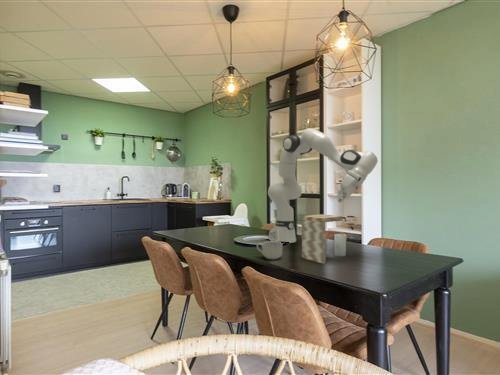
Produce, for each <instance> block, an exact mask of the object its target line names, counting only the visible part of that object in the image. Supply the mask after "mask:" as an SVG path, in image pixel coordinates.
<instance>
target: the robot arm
mask: <svg viewBox="0 0 500 375" xmlns="http://www.w3.org/2000/svg"><path fill="white" fill-rule="evenodd" d="M282 147H283V148H281V152H280V156H279V162H278V175H279V176H280V177H281V178H282V179H283V183H274V184H271V185H269V187H268V190H267V195H268V197H269V198H270V199H271V200H272V201H273V203H274V205H275V208H276V220H275V221H274V224H275V225H274V226H273V227H272V228H271V229H270V230H269V233H268V237H269V238H267V237H266V238H267V239H274V240H277V241H288V242H289V243H288V244H291V243H296V242H297V237H296V229H295V220H294V218H295V217H294V215H295V214H294V208H293V207H292V206H291V205H289V202H288V201H289V200H296V199H298V198H300V197H301V196H302V193H303V190H302V189H303V188H302V186H301V185H299V183H298V181H297V178H296V171H297V170H296V166H297V159H298V158H297V157H298V155H305V154H309V153H311V152H312V151H313V150H314V151H315V152H316V153H319V154H321V155H323V156H324V157H326V158H328V159H329V160H331V161H332V162H334V163H336V165H338V166H340V167H341V168H342V169H343V170H345V172H346V175H345V177H344V178H343V179H342V180H341V182H340V185H339V187H340V189H339V191H338V192H337V194H336V198H338V199H337V202H338V203H340V204H341V203H342V202H343V201H344V200H346V199H347V200H348V199H350V197H351V196H352V194H353V193H354V191H355V190H356V188H357V187H361V186H362V184H363V183H364V182H365V181H366V179H367V177H368V175H369V174H371V173H372V172H373V170H374V169H375V167H376V165H377V164H378V162H379V161H378V157H377V156H376V155H375V153H374V152H372V151H369V150H366V151H356V150H355V149H347V150H345V151H344V152H342V153H341V151H339V150H338V149H337V148H338V147H336V145H335V144H334V142H333V141H332V139H331V138H330V137H329V136H328V135H327V134H325V133H324V132H321V131H320V130H317V129H315V128H310V127H309V128H306V129H304V130H303V132H302V133H301V135H298V134H293V135H288V136H286V137H285V138H284V139H283V142H282Z"/></svg>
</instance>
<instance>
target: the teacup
mask: <svg viewBox="0 0 500 375" xmlns="http://www.w3.org/2000/svg"><path fill="white" fill-rule="evenodd" d="M283 244H284V243H281V242H277V241H269V240H266V241H263V242H258V243H257V244H256V249H257V250H258V251H259V252H260V253H261V254H262V255H263V257H264V258H265V259H267V260H272V261H273V260H274V261H275V260H278V259H280V258H281V257H282V255H283ZM259 246H260V247H261V248H262V249H261V248H260V247H259Z"/></svg>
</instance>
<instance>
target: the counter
mask: <svg viewBox="0 0 500 375" xmlns="http://www.w3.org/2000/svg"><path fill="white" fill-rule="evenodd" d="M339 221H340V222H342V221H343V216H342V215H341V216H340V215H331V214H324V213H321V214H320V213H318V214H308V215H307V214H306V215H301V259H306V260H308V261H312V262H316V263H320V264H323V265H325V264H326V263H327V262H326V223H330V222H339Z"/></svg>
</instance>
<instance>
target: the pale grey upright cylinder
mask: <svg viewBox="0 0 500 375" xmlns="http://www.w3.org/2000/svg"><path fill="white" fill-rule="evenodd" d="M333 240H334V242H333V244H334V249H333V250H334V252H333V253H334V256H336V257H345V256H347V235H346V234H345V233H334V238H333Z"/></svg>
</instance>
